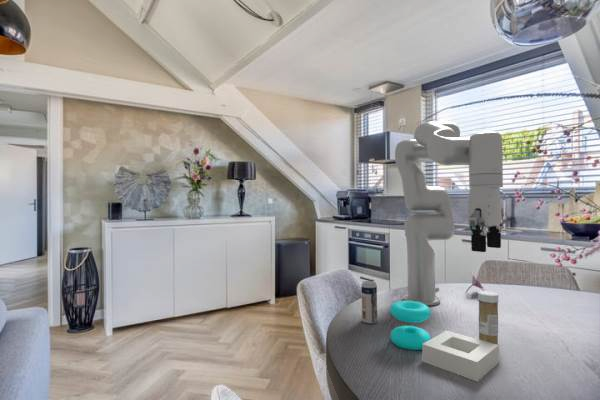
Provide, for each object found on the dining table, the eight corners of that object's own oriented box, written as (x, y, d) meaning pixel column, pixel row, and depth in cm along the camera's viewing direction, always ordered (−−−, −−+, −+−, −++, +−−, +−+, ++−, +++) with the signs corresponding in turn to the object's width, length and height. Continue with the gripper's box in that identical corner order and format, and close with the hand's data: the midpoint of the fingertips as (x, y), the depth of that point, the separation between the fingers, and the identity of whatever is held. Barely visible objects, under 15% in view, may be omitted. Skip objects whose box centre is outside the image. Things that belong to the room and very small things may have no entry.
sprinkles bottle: (475, 342, 89) (474, 290, 89) (492, 341, 89) (492, 290, 89) (484, 349, 84) (483, 295, 84) (502, 349, 84) (502, 295, 84)
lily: (478, 302, 126) (492, 280, 125) (450, 284, 134) (462, 263, 134) (488, 305, 134) (501, 284, 133) (460, 288, 143) (472, 268, 142)
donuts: (438, 305, 87) (414, 313, 82) (439, 345, 87) (415, 355, 82) (406, 297, 96) (382, 303, 90) (406, 333, 96) (382, 342, 90)
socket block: (446, 346, 87) (446, 330, 87) (498, 362, 78) (498, 345, 78) (422, 361, 79) (422, 344, 79) (477, 381, 70) (477, 362, 70)
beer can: (377, 325, 102) (377, 284, 102) (361, 324, 103) (360, 284, 103) (377, 319, 106) (376, 281, 106) (361, 318, 107) (361, 280, 107)
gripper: (483, 183, 95) (484, 245, 95) (455, 181, 84) (456, 251, 84) (513, 182, 90) (514, 247, 89) (488, 180, 78) (489, 254, 78)
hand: (486, 249), depth 87 cm, fingers open, 9 cm apart
